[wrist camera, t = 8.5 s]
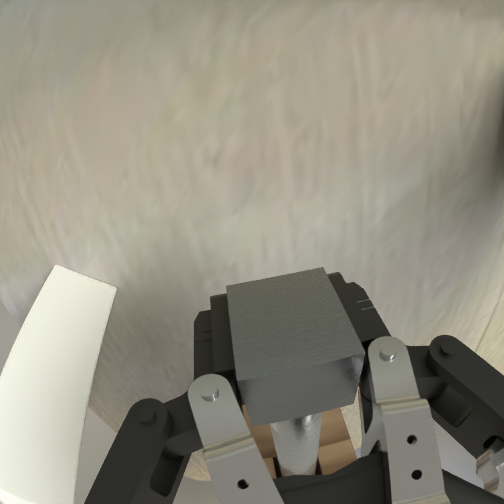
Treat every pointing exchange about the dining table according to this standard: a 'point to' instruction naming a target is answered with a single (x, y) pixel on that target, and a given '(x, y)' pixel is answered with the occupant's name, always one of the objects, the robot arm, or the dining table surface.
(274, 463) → the bearing block
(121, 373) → the dining table surface
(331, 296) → the shaft
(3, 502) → the milk
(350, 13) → the dining table surface
